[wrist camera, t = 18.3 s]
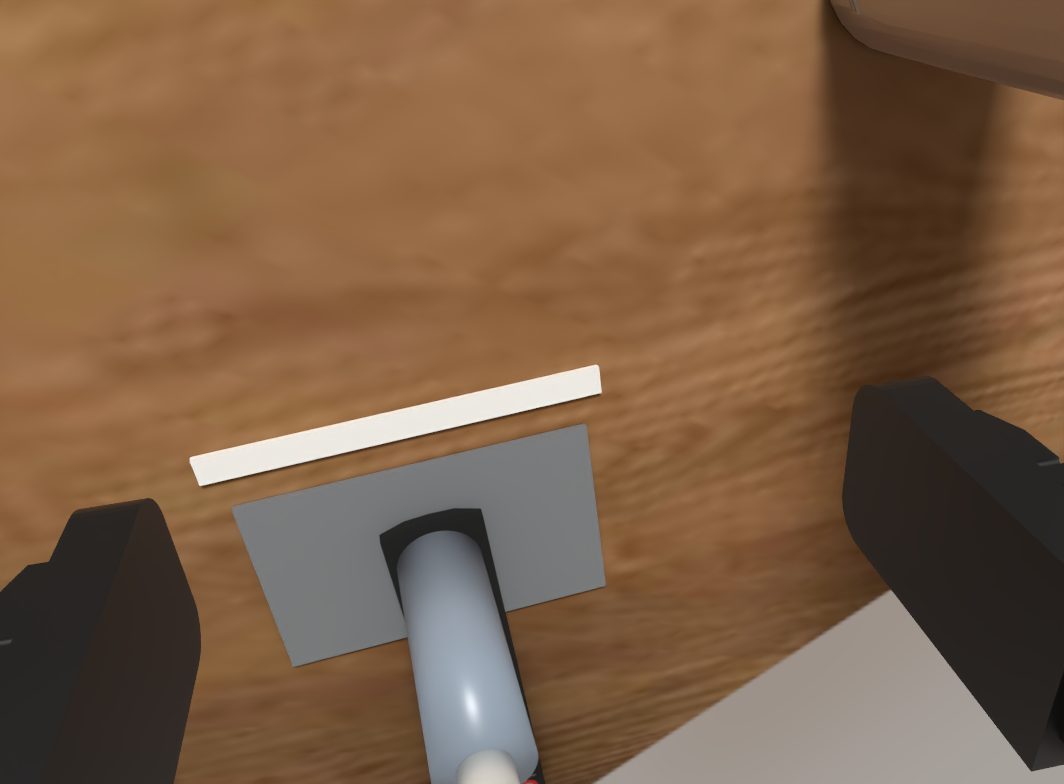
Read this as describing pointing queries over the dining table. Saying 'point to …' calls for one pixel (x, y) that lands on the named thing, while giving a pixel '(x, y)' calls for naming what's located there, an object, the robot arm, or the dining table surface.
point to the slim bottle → (462, 665)
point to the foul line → (395, 425)
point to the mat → (409, 492)
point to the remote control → (474, 527)
